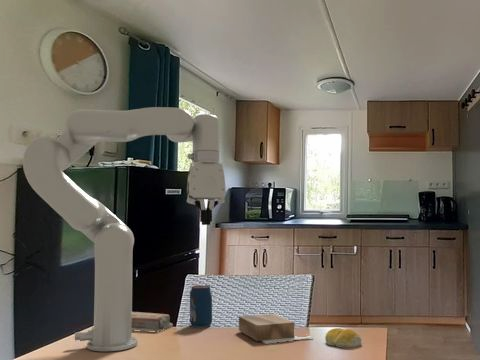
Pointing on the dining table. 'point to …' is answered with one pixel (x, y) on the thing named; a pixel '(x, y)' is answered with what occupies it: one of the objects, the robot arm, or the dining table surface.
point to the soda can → (200, 306)
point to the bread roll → (343, 338)
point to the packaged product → (150, 321)
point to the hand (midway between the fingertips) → (206, 224)
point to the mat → (285, 339)
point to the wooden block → (266, 327)
